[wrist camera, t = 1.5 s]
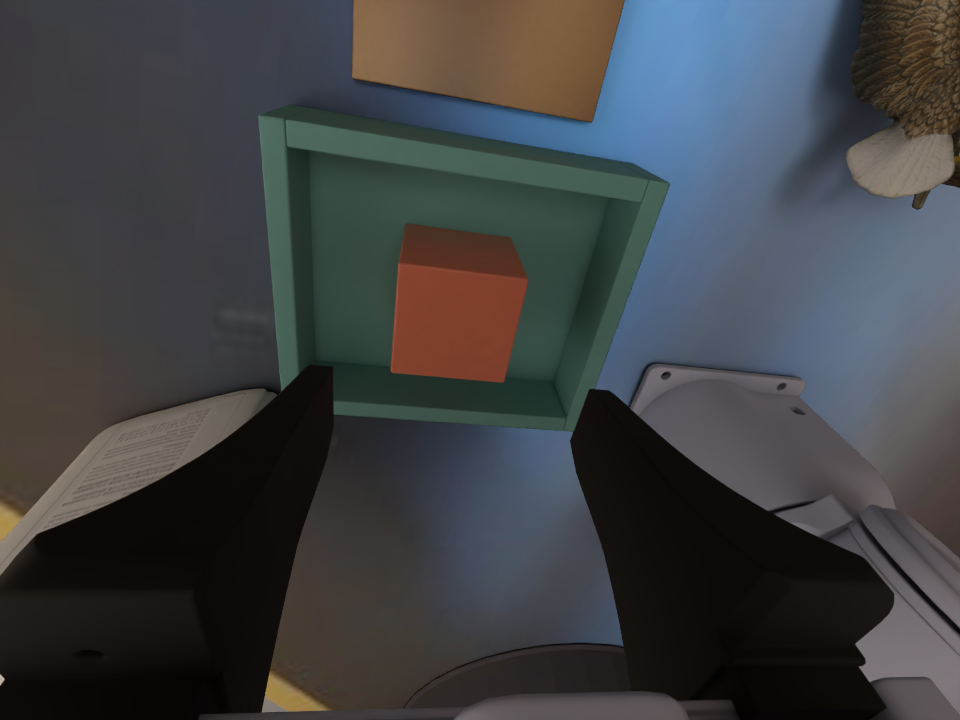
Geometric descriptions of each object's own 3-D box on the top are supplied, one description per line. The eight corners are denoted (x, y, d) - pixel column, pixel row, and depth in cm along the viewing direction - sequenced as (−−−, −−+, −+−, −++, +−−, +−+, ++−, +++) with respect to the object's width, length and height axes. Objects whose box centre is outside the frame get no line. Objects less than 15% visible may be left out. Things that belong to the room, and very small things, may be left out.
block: (511, 237, 20) (529, 279, 16) (492, 328, 22) (504, 383, 18) (405, 222, 19) (398, 262, 15) (398, 318, 21) (390, 373, 18)
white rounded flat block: (144, 477, 26) (-45, 749, 16) (89, 423, 24) (-173, 701, 14) (312, 434, 25) (229, 689, 15) (274, 373, 23) (144, 627, 13)
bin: (633, 163, 19) (671, 183, 16) (561, 387, 25) (578, 432, 22) (288, 104, 17) (257, 114, 14) (302, 365, 23) (282, 411, 20)
